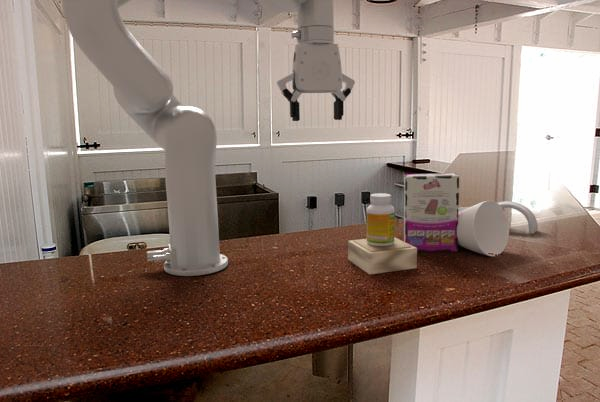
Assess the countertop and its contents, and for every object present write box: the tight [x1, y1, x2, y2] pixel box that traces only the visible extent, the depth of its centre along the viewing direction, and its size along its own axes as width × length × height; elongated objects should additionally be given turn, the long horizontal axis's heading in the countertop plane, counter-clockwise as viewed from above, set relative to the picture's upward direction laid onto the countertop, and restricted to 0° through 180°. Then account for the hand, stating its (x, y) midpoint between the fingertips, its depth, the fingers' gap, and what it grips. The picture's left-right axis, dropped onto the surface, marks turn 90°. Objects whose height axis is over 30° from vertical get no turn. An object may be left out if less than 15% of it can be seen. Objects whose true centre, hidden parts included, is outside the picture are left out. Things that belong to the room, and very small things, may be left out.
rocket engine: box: [457, 200, 510, 257], centre depth 107 cm, size 12×12×18 cm
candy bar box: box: [403, 172, 460, 252], centre depth 104 cm, size 11×5×16 cm, turn 82°
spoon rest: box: [458, 200, 539, 235], centre depth 124 cm, size 24×12×7 cm, turn 53°
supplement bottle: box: [366, 192, 396, 246], centre depth 94 cm, size 5×5×10 cm
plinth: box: [347, 236, 418, 275], centre depth 96 cm, size 10×10×4 cm
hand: (317, 120), depth 105 cm, fingers open, 9 cm apart
